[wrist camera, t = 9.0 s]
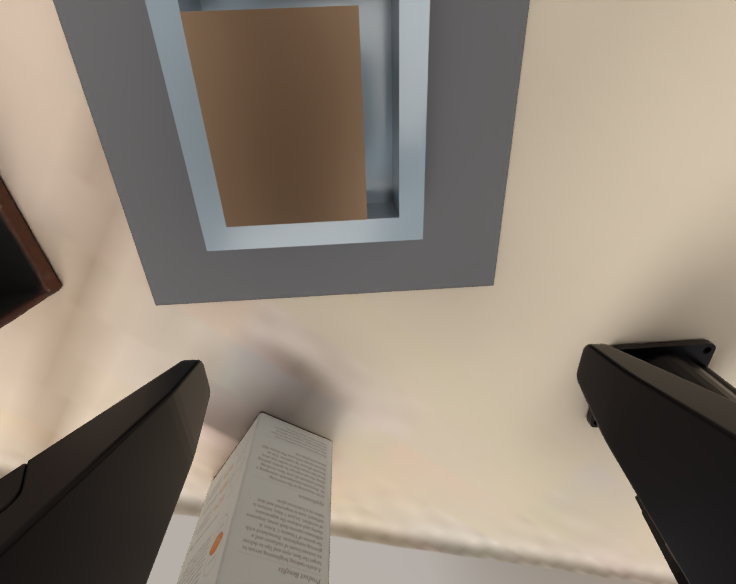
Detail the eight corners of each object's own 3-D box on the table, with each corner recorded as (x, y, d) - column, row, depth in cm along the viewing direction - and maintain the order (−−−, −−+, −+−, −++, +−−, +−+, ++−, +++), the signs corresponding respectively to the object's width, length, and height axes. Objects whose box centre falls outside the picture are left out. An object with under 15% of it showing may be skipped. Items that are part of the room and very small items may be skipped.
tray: (415, -46, 14) (432, -75, 12) (411, 218, 19) (422, 239, 16) (168, -37, 14) (128, -66, 11) (226, 227, 19) (207, 251, 16)
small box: (280, 504, 29) (250, 697, 20) (209, 480, 28) (142, 679, 18) (336, 439, 27) (331, 630, 17) (261, 408, 25) (211, 600, 16)
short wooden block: (352, 38, 15) (358, 5, 9) (358, 171, 17) (367, 219, 11) (247, 42, 15) (179, 12, 9) (268, 176, 17) (226, 226, 11)
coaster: (550, -200, 13) (556, -208, 13) (490, 282, 21) (493, 285, 21) (-4, -189, 12) (-14, -197, 12) (158, 301, 21) (155, 305, 21)
